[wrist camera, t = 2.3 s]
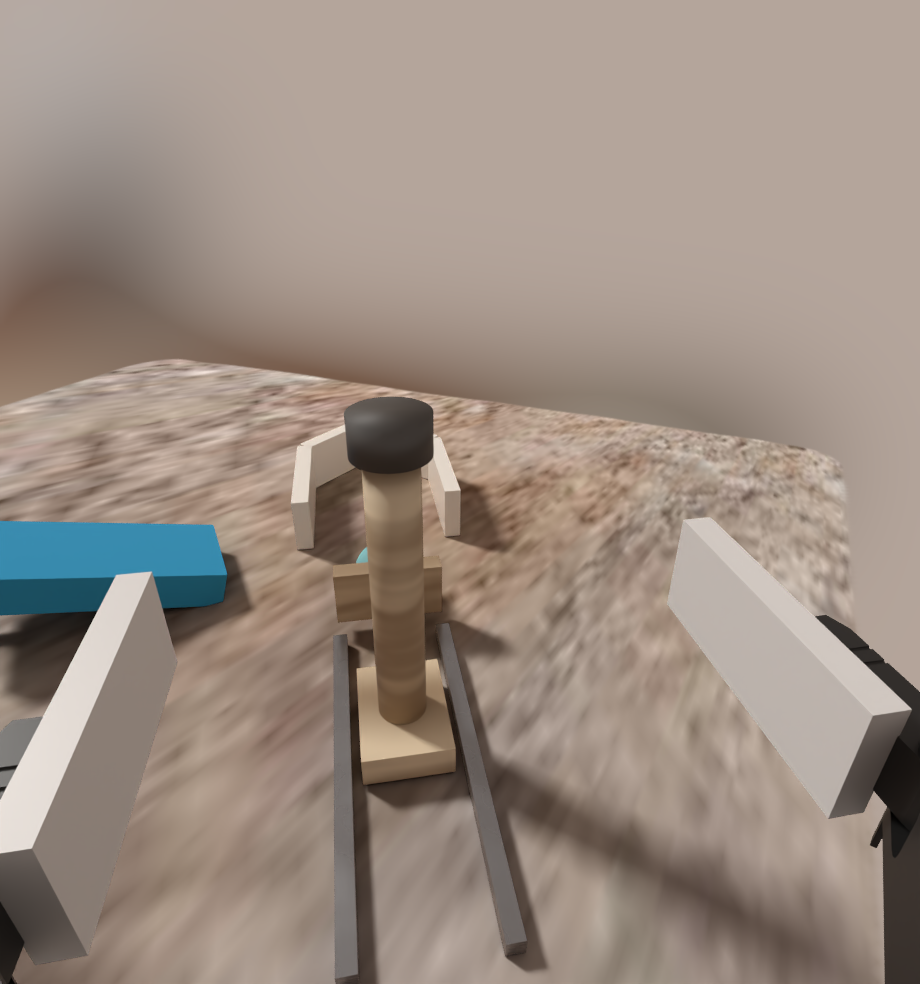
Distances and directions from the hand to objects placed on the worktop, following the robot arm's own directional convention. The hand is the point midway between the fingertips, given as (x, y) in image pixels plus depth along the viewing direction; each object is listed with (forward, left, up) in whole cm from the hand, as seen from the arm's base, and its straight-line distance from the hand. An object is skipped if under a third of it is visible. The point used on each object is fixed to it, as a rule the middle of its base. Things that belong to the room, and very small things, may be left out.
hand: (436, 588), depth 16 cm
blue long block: (-31, +2, -17) cm, 36 cm away
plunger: (-10, +9, -17) cm, 21 cm away
